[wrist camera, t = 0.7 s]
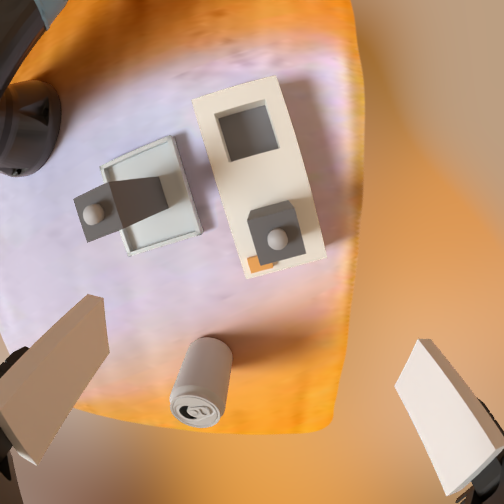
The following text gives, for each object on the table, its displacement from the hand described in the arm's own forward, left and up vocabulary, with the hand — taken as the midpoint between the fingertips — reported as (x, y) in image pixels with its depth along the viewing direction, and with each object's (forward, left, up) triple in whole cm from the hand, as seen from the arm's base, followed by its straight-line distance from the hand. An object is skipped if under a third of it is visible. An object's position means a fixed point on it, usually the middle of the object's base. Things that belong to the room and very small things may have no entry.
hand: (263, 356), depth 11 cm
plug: (-13, -5, -24) cm, 27 cm away
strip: (-4, +5, -24) cm, 25 cm away
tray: (-13, -5, -24) cm, 28 cm away
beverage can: (+5, -18, -24) cm, 31 cm away
